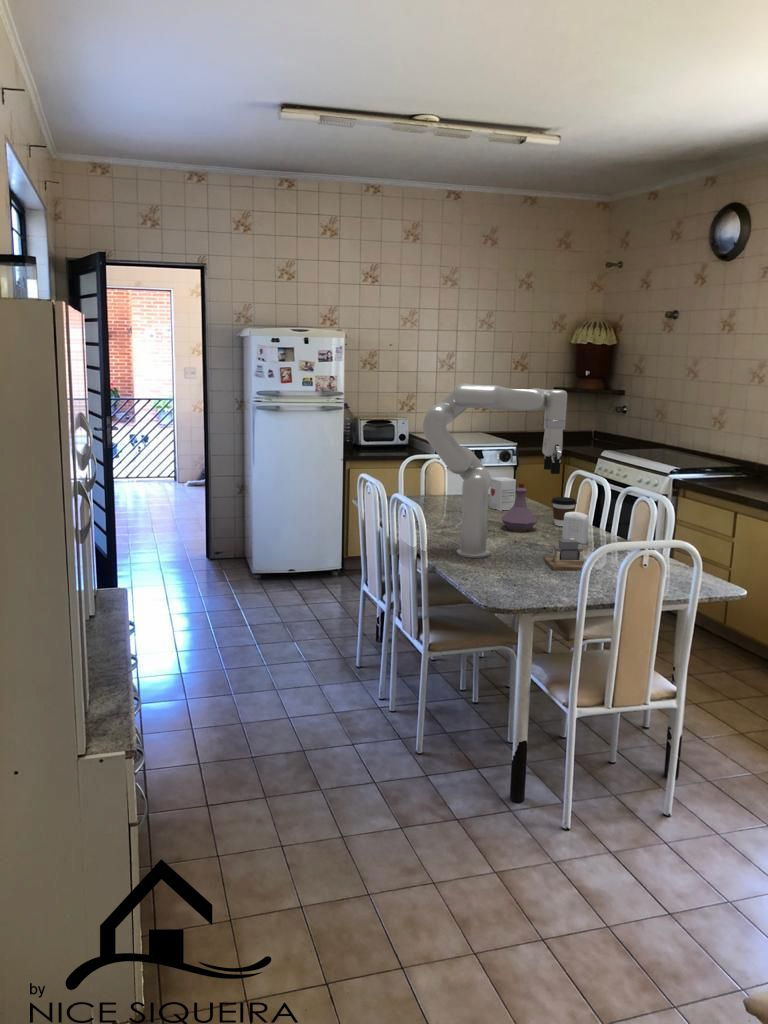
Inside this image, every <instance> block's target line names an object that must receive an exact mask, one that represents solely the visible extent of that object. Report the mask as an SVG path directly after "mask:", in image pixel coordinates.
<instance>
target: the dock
mask: <svg viewBox="0 0 768 1024" xmlns="http://www.w3.org/2000/svg"><path fill="white" fill-rule="evenodd" d="M552 550H553V551H552V556H543V562H545V564H546V565H547V566H548V567H549V566H550V567H551V568H552V569H553V570H552V569H551V568H550V567H549V568H550V569H551V570H552V571H577V570H580V571H581V569H582V566H583V563H584V561H585V560H584V558H583V557H584V552H583V551H578V555H577V560H560V552H559V551H556V550H555V549H554V547H553V549H552Z"/></svg>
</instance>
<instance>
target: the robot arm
mask: <svg viewBox="0 0 768 1024" xmlns="http://www.w3.org/2000/svg"><path fill="white" fill-rule="evenodd" d="M567 401H568V393H567V391H566V390H563V389H542V388H536V387H535V388H534V387H533V388H531V389H522V388H521V389H519V388H508V387H504V386H500V385H495V384H493V385H490V384H472V383H467V382H464V383H460V384H457V385H456V386H455V387H454V388H453V390H452V392H450V393H449V394H448V395H447V396H446V397H444V399H442V400H441V401H439V403H437V404H434V405H432V406H431V407H430V408H429V409H428V410H427V412H426V413H425V416H424V418H423V424H422V430H423V434H424V436H425V439H426V441H427V442H428V443H429V445H430V446H431V447H432V449H433V450H434V451H435V452H436V454H437V456H438V458H440V460H442V462H443V463H444V465H445V467H447V468H448V470H449V471H450V472H451V473H453V474H456V475H459V476H460V477H461V479H462V480H463V482H462V488H461V490H462V491H461V494H462V509H461V512H462V513H461V514H462V515H461V518H462V519H461V535H460V537H461V538H460V540H461V541H460V547H459V548H457V549H456V554H457V555H458V556H460V557H463V558H464V557H465V558H468V559H472V558H473V559H480V558H481V559H482V558H487V557H489V556H490V555H491V551H490V550H489V549H487V539H488V538H487V535H488V514H489V513H488V511H489V490H490V486H491V478H492V477H491V474H490V472H489V471H488V469H487V468H486V467H485V465H484V463H482V462H481V461H480V459H479V458H478V457H477V455H476V454H475V453H474V452H473V451H472V450H471V449H470V448H468V447H467V446H463V445H460V444H459V443H458V441H457V440H456V439H455V437H454V436H453V434H451V432H449V430H448V428H447V425H449V424H450V423H452V422H453V421H454V420H455V419H456V418H457V417H458V416H460V415H461V414H462V413H464V412H465V411H466V410H467V409H468V408H471V409H489V410H507V411H509V410H510V411H521V412H522V411H523V412H526V411H527V412H535V411H539V410H541V409H544V417H543V418H544V420H543V429H544V434H543V442H542V450H541V451H542V454H543V455H544V456H543V457H544V458H543V459H544V460H543V461H544V462H543V469H544V470H548V471H549V470H550V474H551V475H559V474H560V473H561V461H562V460H561V458H562V453H563V444H564V443H563V441H564V440H563V439H564V437H563V436H564V434H563V430H566V420H567V404H568V402H567Z"/></svg>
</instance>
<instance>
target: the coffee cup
mask: <svg viewBox="0 0 768 1024" xmlns="http://www.w3.org/2000/svg"><path fill="white" fill-rule="evenodd" d="M550 503H552V514H553V521H554V526H556V525H558V526H563V523H564V515H565V513H567V512H575V505H576V504H577V501H576V499H575V498H573V497H566V496H556V497H555V496H554V497H553V498H552V499H551V501H550ZM558 526H557V527H558Z"/></svg>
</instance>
